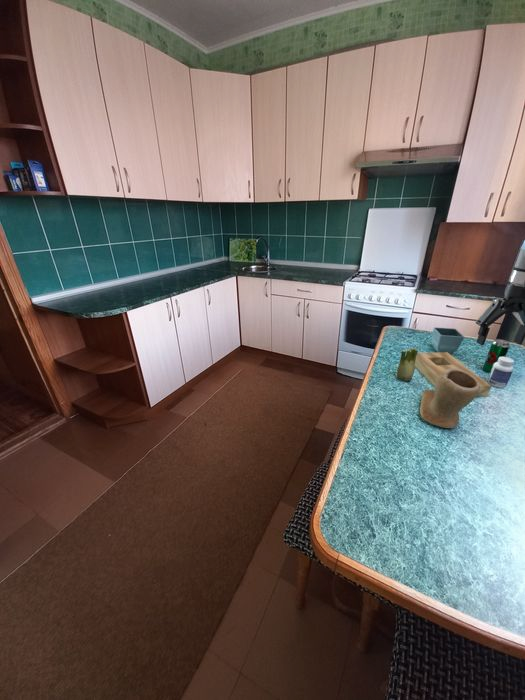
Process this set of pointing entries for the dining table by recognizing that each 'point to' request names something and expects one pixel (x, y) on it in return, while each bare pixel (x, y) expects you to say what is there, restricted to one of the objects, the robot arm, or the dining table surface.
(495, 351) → the soda can
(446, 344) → the flower pot
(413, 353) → the fennel bulb
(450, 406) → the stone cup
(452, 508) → the dining table surface
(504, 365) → the pill bottle
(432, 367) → the socket block
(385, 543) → the dining table surface
